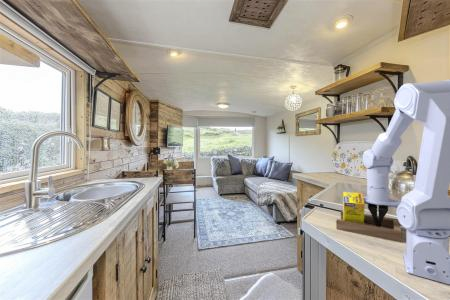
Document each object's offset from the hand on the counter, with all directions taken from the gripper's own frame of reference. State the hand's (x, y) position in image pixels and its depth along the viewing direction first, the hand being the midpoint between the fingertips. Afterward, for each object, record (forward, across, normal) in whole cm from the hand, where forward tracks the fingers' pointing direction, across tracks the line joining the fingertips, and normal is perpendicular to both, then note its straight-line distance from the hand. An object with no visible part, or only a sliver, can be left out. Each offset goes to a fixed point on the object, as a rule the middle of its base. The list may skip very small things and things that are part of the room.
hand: (378, 226), depth 67 cm
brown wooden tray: (+1, +2, 0) cm, 3 cm away
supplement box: (0, +7, -1) cm, 7 cm away
